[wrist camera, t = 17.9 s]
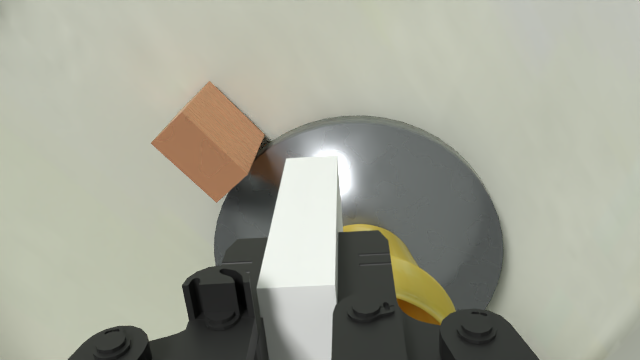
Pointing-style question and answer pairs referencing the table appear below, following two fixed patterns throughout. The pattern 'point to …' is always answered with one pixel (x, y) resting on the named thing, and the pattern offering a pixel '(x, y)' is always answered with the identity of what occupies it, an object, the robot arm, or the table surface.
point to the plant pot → (412, 282)
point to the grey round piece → (347, 186)
